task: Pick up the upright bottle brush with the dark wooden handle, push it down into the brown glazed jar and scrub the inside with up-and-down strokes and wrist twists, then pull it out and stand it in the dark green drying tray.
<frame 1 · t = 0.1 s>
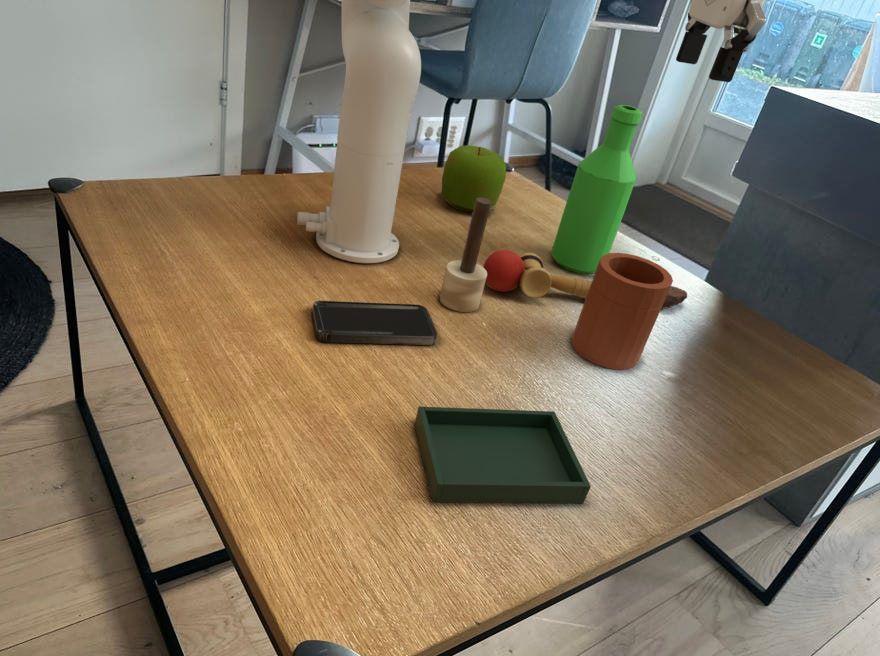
hand: (701, 71, 99), 31 cm above the table, tool pointing down, fingers open, 9 cm apart
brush: (459, 301, 98), on the table
tray: (495, 462, 72), on the table
jar: (604, 349, 94), on the table
stone: (660, 303, 108), on the table
kendama: (538, 294, 104), on the table
phone: (373, 327, 89), on the table
apple: (467, 206, 128), on the table
bottle: (575, 264, 115), on the table
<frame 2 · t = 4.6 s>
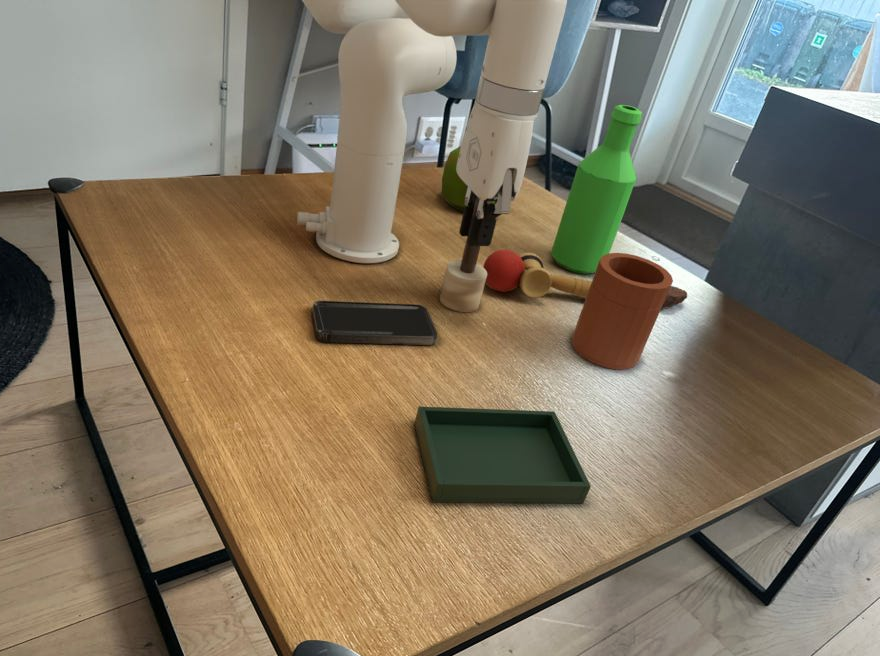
hand: (474, 239, 93), 10 cm above the table, tool pointing down, fingers closed on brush
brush: (459, 301, 98), on the table, touching gripper
everything else where it was.
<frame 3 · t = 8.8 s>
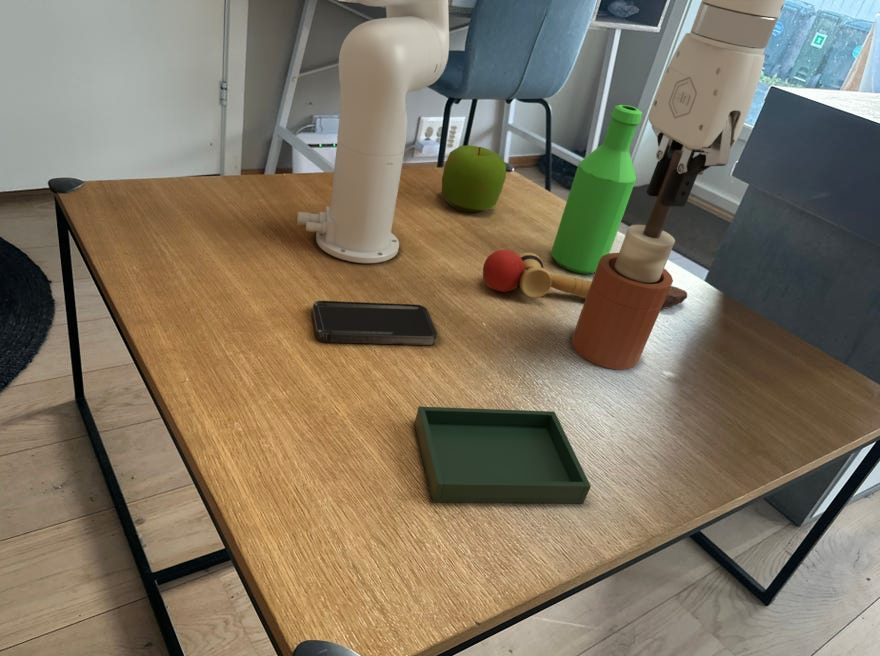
hand: (665, 199, 82), 21 cm above the table, tool pointing down, fingers closed on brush
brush: (637, 271, 87), point 12 cm above the table, touching gripper
everything else where it was.
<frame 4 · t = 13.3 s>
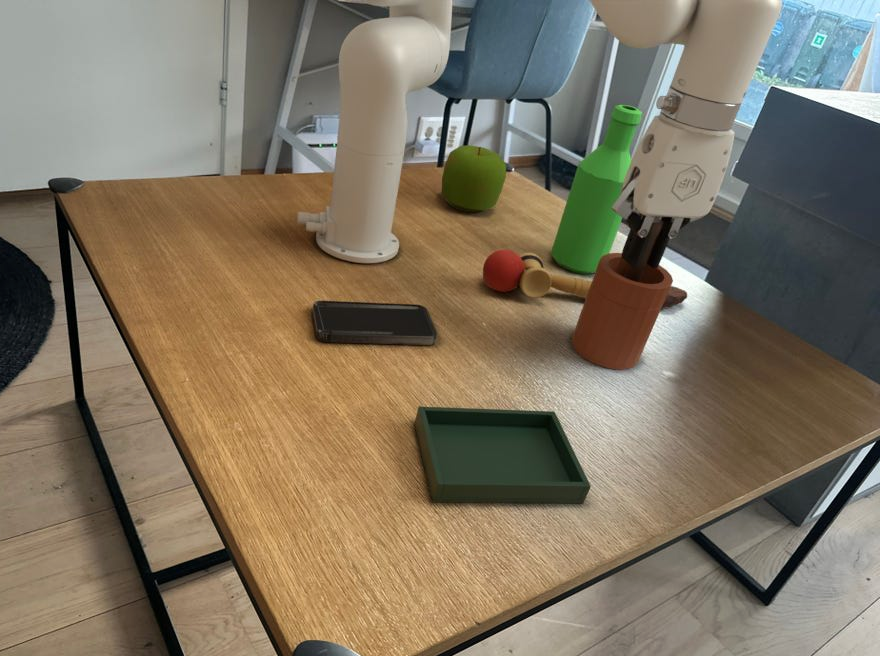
hand: (639, 261, 86), 13 cm above the table, tool pointing down, fingers closed on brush
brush: (613, 326, 92), point 4 cm above the table, touching gripper
everything else where it was.
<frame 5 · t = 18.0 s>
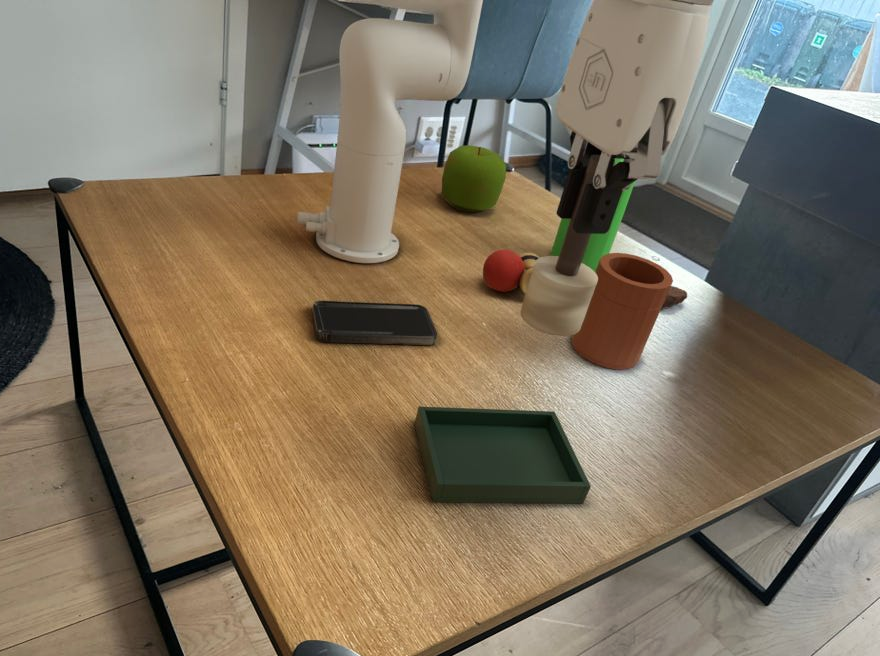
hand: (581, 223, 59), 26 cm above the table, tool pointing down, fingers closed on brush
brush: (550, 319, 64), point 16 cm above the table, touching gripper
everything else where it was.
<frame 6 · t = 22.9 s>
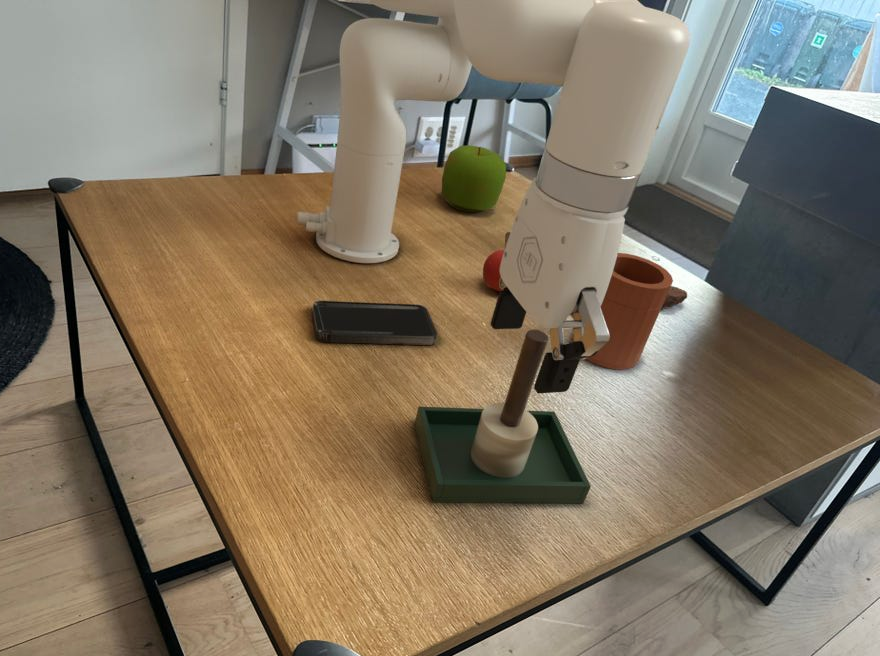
hand: (526, 357, 65), 13 cm above the table, tool pointing down, fingers open, 9 cm apart
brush: (497, 458, 71), point 1 cm above the table, touching tray
everything else where it was.
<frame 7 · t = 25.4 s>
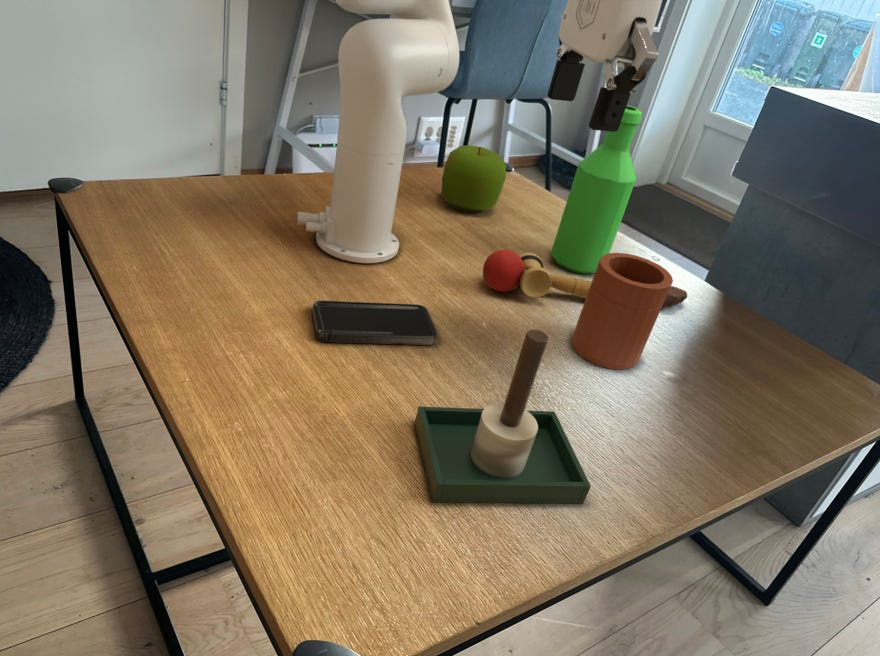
hand: (580, 113, 75), 29 cm above the table, tool pointing down, fingers open, 9 cm apart
nothing on the table moved.
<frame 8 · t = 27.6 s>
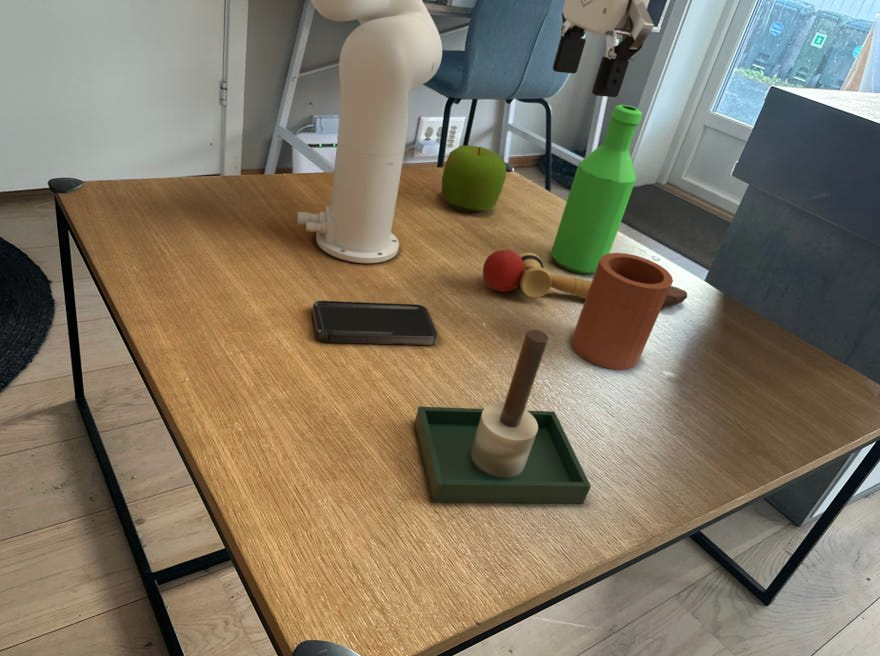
hand: (583, 83, 84), 30 cm above the table, tool pointing down, fingers open, 9 cm apart
nothing on the table moved.
at the end: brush inside the target area in the tray (0.1 cm from its centre), point 0.6 cm above the tray's base; the gripper is holding nothing; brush moved 32.2 cm from its start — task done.
